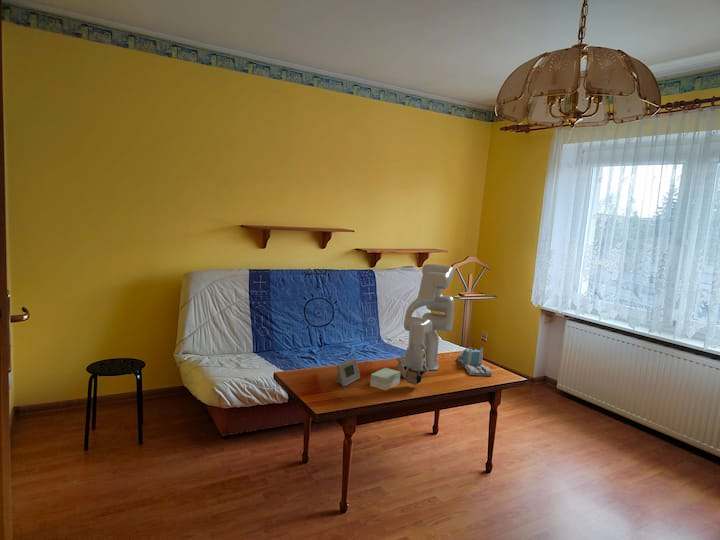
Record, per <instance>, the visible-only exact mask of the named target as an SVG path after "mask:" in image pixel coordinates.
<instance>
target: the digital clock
mask: <svg viewBox="0 0 720 540" xmlns="http://www.w3.org/2000/svg"><path fill="white" fill-rule="evenodd" d="M336 369H337V372H338V373H337V375H336V383H337V384H340V385H341V387H347V386H349V385H351V384H353V383H355V382H356V381H358V380H359V379H360V378H361V373H360V369H359V365H358V361H357V359H356V358H354V357H353V358H350V359H347V360H346V361H343V362H341V363H340V364H338V365H337V366H336Z"/></svg>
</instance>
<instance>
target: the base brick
mask: <svg viewBox="0 0 720 540" xmlns="http://www.w3.org/2000/svg"><path fill="white" fill-rule="evenodd" d="M400 373H401V372H400V371H398V370H396V369H392V368H388V367H384V368H382V369H379V370H377V371H375V372H373V373H371V374H370V382H369V384H370V385H369V387H373V388H376V389H379V390H383V391H387V390H389V389H391V388H394V387H395V386H397V385H399V384H400V383H401V375H400Z"/></svg>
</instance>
